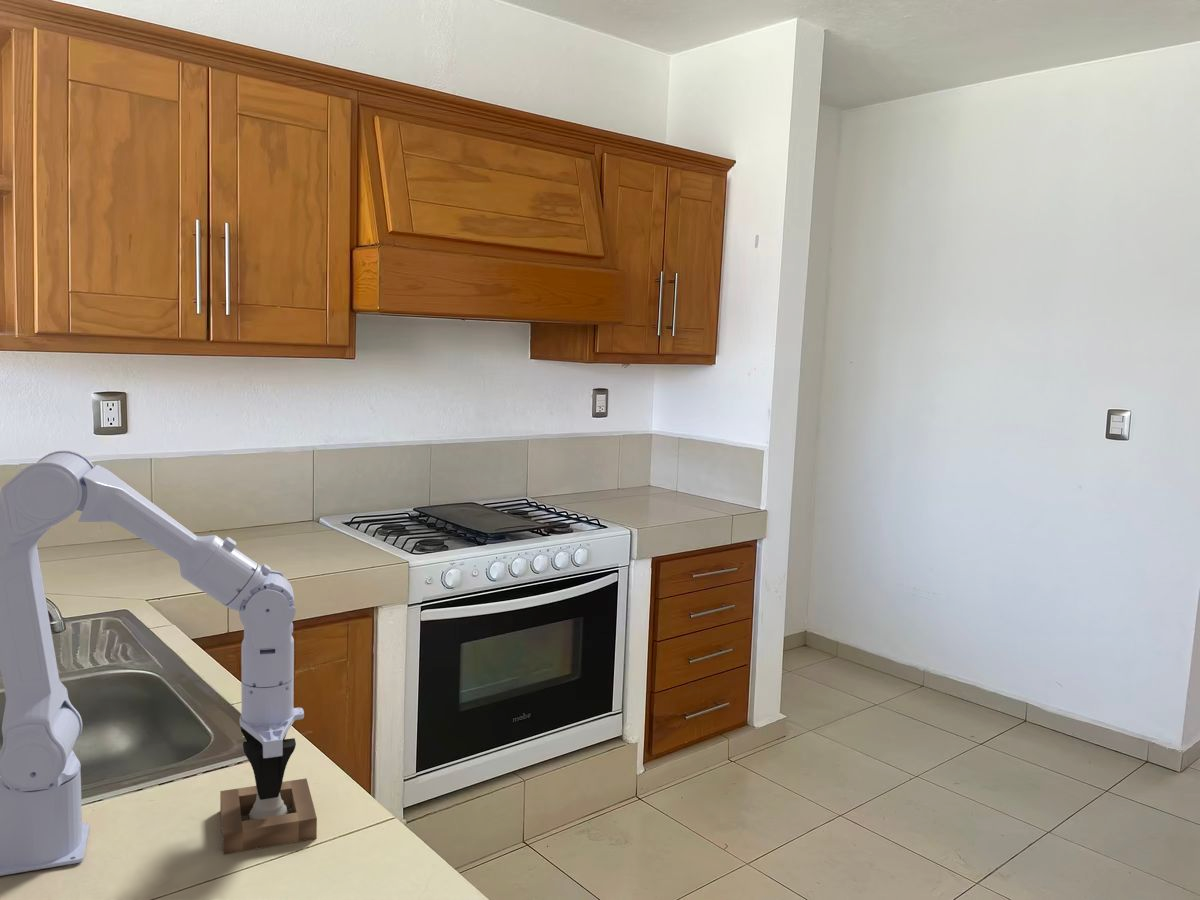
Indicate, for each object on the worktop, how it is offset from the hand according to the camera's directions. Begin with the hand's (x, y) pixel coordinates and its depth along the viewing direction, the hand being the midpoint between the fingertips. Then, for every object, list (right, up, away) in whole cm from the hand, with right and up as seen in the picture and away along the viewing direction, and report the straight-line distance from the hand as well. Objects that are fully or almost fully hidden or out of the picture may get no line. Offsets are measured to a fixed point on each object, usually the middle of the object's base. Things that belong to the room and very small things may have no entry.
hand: (267, 789), depth 109 cm
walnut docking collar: (0, -4, +1) cm, 4 cm away
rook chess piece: (0, -5, +1) cm, 5 cm away
